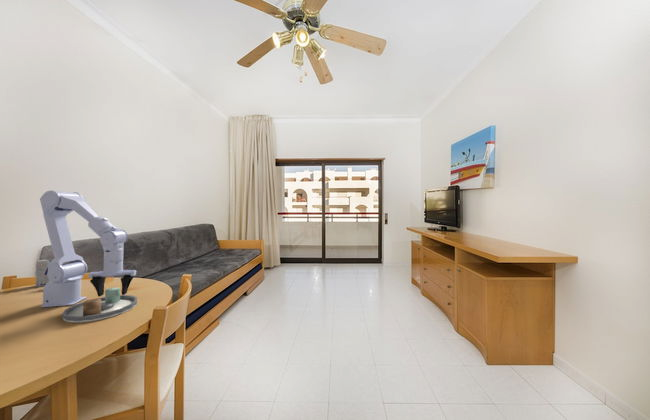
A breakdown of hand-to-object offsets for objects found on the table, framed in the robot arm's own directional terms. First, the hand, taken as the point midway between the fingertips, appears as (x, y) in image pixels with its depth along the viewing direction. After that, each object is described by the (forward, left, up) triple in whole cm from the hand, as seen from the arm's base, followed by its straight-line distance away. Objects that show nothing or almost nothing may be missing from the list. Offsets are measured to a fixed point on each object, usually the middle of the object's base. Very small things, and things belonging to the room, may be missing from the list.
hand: (112, 294), depth 91 cm
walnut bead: (0, -12, -3) cm, 12 cm away
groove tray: (0, -6, -3) cm, 7 cm away
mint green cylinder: (0, 0, -3) cm, 3 cm away
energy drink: (-42, +32, -4) cm, 53 cm away
